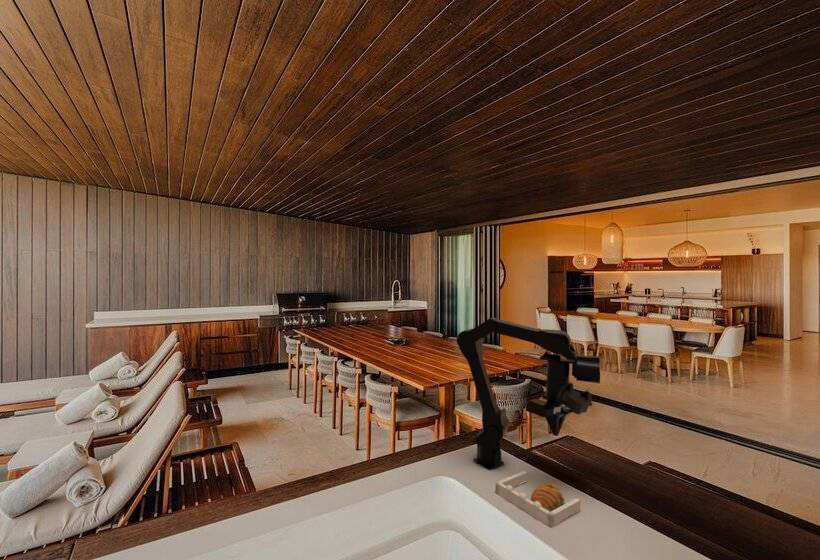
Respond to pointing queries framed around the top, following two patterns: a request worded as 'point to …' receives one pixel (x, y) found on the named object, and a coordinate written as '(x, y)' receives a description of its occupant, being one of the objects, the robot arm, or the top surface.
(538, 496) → the pastry
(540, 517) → the frame
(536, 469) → the top surface
